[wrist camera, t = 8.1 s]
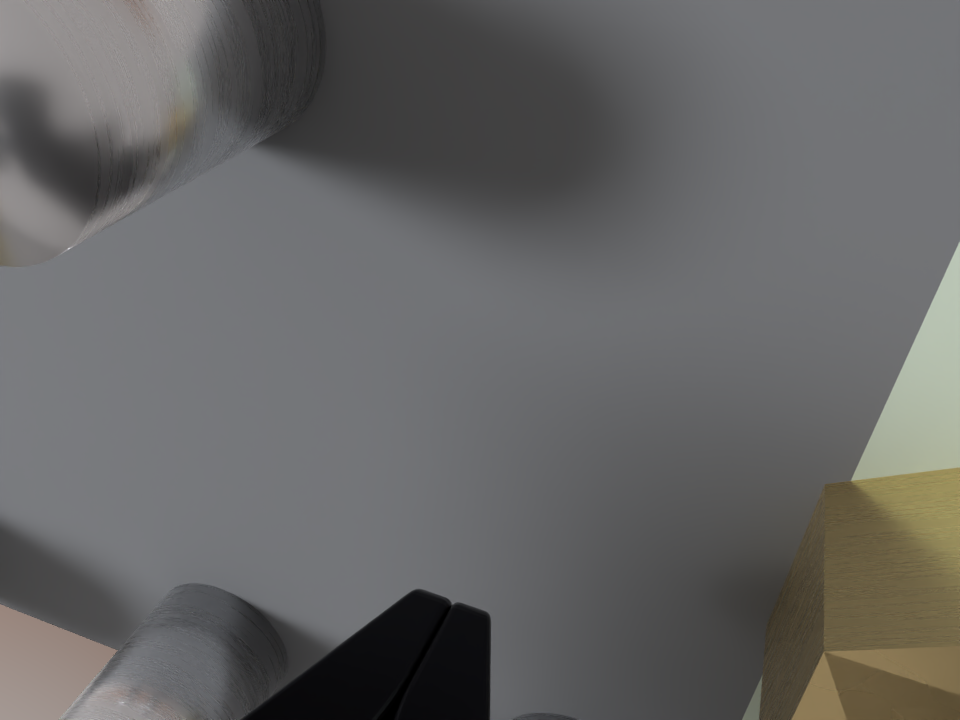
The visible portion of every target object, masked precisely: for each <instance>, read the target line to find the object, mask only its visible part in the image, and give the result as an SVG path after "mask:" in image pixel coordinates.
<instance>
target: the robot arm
mask: <svg viewBox="0 0 960 720" xmlns="http://www.w3.org/2000/svg"><path fill="white" fill-rule="evenodd" d="M490 679H491V617H490V615H489V613H488V612H486V611H484V610H481V609H478V608H475V607H472V606H469V605H467V604H464V603H460V602H457V603H454V604H453V605H452V603H451V601H450V600H449V599H448V598H446V597H443V596H440V595H438V594H435V593H432V592H429V591H426V590H423V589H415V590H412V591H411V592H409V593H408V594H406V595H405V596H404V597H402V598H401V599H400V600H398V601H397V602H396V603H394V604H393V605H392V606H390V607H389V608H388V609H386V610H385V611H384V612H382V613H381V614H380V615H378V616H377V617H376V618H374V619H373V620H372V621H370V622H369V623H368V624H366V625H365V626H364V627H363V628H361V629H360V630H359V631H357V632H356V633H355V634H353V635H352V636H351V637H349V638H348V639H347V640H345V641H344V642H343V643H341V644H340V645H339V646H337V647H336V648H335V649H333V650H332V651H331V652H329V653H328V654H327V655H325V656H324V657H323V658H321V659H320V660H319V661H317V662H316V663H315V664H313V665H312V666H311V667H309V668H308V669H307V670H305V671H304V672H303V673H301V674H300V675H299V676H297V677H296V678H295V679H293V680H292V681H291V682H289V683H288V684H287V685H285V686H284V687H283V688H281V689H280V690H279V691H277V692H276V693H275V694H273V695H272V696H271V697H269V698H268V699H267V700H265V701H264V702H263V703H261V704H260V705H259V706H257V707H256V708H255V709H253V710H252V711H251V712H249V713H248V714H247V715H245V716H244V717H243V718H241V719H240V720H490Z"/></svg>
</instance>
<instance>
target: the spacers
mask: <svg viewBox="0 0 960 720" xmlns="http://www.w3.org/2000/svg"><path fill="white" fill-rule="evenodd" d="M325 50H326V41H325V27H324V20H323V14H322V10H321V6H320V2H319V0H0V266H9V267H24V266H32V265H36V264H40V263H44V262H46V261H48V260H50V259H53V258H55V257H57V256H58V255H60V254H62V253H64V252H66V251H67V250H69V249H71V248H73V247H74V246H76V245H78V244H80V243H82V242H83V241H85V240H87V239H89V238H90V237H92V236H94V235H96V234H98V233H99V232H101V231H103V230H105V229H106V228H108V227H110V226H112V225H114V224H115V223H117V222H119V221H121V220H122V219H124V218H126V217H128V216H130V215H131V214H133V213H135V212H137V211H139V210H140V209H142V208H144V207H146V206H147V205H149V204H151V203H153V202H155V201H156V200H158V199H160V198H162V197H163V196H165V195H167V194H169V193H171V192H172V191H174V190H176V189H178V188H179V187H181V186H183V185H185V184H187V183H188V182H190V181H192V180H194V179H195V178H197V177H199V176H201V175H203V174H204V173H206V172H208V171H210V170H211V169H213V168H215V167H217V166H219V165H220V164H222V163H224V162H226V161H227V160H229V159H231V158H233V157H235V156H236V155H238V154H240V153H242V152H243V151H245V150H247V149H249V148H251V147H252V146H254V145H256V144H258V143H259V142H261V141H263V140H265V139H267V138H268V137H270V136H272V135H274V134H275V133H277V132H279V131H281V130H283V129H284V128H286V127H287V126H289V125H290V124H291V123H293V122H294V121H295V120H296V119H297V118H298V117H299V116H300V115H301V114H302V113H303V112H304V111H305V110H306V108H307V107H308V105H309V104H310V103H311V101H312V99H313V97H314V95H315V93H316V91H317V89H318V86H319V83H320V80H321V77H322V72H323V67H324V62H325ZM287 667H288V657H287V652H286V649H285V646H284V644H283V642H282V640H281V638H280V636H279V634H278V633H277V632H276V630H275V629H274V627H273V626H272V625H271V624H270V622H269V621H268V620H267V619H266V618H265V617H264V616H263V615H262V614H261V613H260V612H258V611H257V610H256V609H255V608H254V607H252V606H251V605H250V604H248V603H247V602H246V601H244V600H242V599H241V598H239V597H237V596H235V595H234V594H232V593H230V592H227V591H225V590H223V589H220V588H217V587H214V586H210V585H205V584H197V583H190V584H183V585H179V586H177V587H175V588H173V589H171V590H170V591H169V592H168V593H167V594H166V595H165V596H164V598H163V599H162V600H161V601H160V602H159V603H158V605H157V606H156V607H155V608H154V609H153V610H152V612H151V613H150V614H149V615H148V616H147V617H146V618H145V620H144V621H143V622H142V623H141V624H140V625H139V627H138V628H137V629H136V630H135V631H134V632H133V634H132V635H131V636H130V637H129V638H128V639H127V641H126V642H125V643H124V644H123V645H122V646H121V648H120V649H119V650H118V651H117V652H116V653H115V655H114V656H113V657H112V658H111V659H110V660H109V662H108V663H107V664H106V665H105V666H104V667H103V669H102V670H101V671H100V672H99V673H98V674H97V676H96V677H95V678H94V679H93V680H92V681H91V683H90V684H89V685H88V686H87V687H86V688H85V690H84V691H83V692H82V693H81V694H80V695H79V697H78V698H77V699H76V700H75V701H74V702H73V703H72V705H71V706H70V707H69V708H68V710H66V712H65V713H64V714H63V715H62V716H61V717H60V719H59V720H240V719H241V718H243V717H244V716H245V715H247V714H248V713H249V712H251V711H252V710H253V709H255V708H256V707H257V706H259V705H260V704H261V703H263V702H264V701H265V700H267V699H268V698H269V697H271V696H272V695H273V693H274V691H275V690H276V688H277V687H278V685H279V684H280V682H281V680H282V679H283V677H284V676H285V674H286V671H287ZM511 720H578V719H575V718H572V717H568V716H564V715H558V714H551V713H532V714H526V715H521V716H518V717H515V718H513V719H511Z"/></svg>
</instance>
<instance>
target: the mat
mask: <svg viewBox="0 0 960 720" xmlns="http://www.w3.org/2000/svg"><path fill="white" fill-rule="evenodd" d="M319 2H320V6H321V10H322V14H323V20H324V27H325V41H326V50H325V62H324V67H323V72H322V77H321V80H320V83H319V86H318V89H317V91H316V93H315V95H314V97H313V99H312V101H311V103H310V104H309V105H308V107H307V108H306V110H305V111H304V112H303V113H302V114H301V115H300V116H299V117H298V118H297V119H296V120H295V121H294V122H293V123H291V124H290V125H289V126H287V127H286V128H284V129H283V130H281V131H279V132H277V133H275V134H274V135H272V136H270V137H268V138H267V139H265V140H263V141H261V142H259V143H258V144H256V145H254V146H252V147H251V148H249V149H247V150H245V151H243V152H242V153H240V154H238V155H236V156H235V157H233V158H231V159H229V160H227V161H226V162H224V163H222V164H220V165H219V166H217V167H215V168H213V169H211V170H210V171H208V172H206V173H204V174H203V175H201V176H199V177H197V178H195V179H194V180H192V181H190V182H188V183H187V184H185V185H183V186H181V187H179V188H178V189H176V190H174V191H172V192H171V193H169V194H167V195H165V196H163V197H162V198H160V199H158V200H156V201H155V202H153V203H151V204H149V205H147V206H146V207H144V208H142V209H140V210H139V211H137V212H135V213H133V214H131V215H130V216H128V217H126V218H124V219H122V220H121V221H119V222H117V223H115V224H114V225H112V226H110V227H108V228H106V229H105V230H103V231H101V232H99V233H98V234H96V235H94V236H92V237H90V238H89V239H87V240H85V241H83V242H82V243H80V244H78V245H76V246H74V247H73V248H71V249H69V250H67V251H66V252H64V253H62V254H60V255H58V256H57V257H55V258H53V259H50V260H48V261H46V262H44V263H40V264H36V265H32V266H24V267H9V266H0V604H1V605H4V606H7V607H9V608H11V609H14V610H17V611H19V612H22V613H24V614H27V615H30V616H32V617H34V618H37V619H40V620H42V621H45V622H47V623H50V624H52V625H55V626H57V627H60V628H63V629H65V630H68V631H70V632H73V633H75V634H78V635H80V636H83V637H86V638H88V639H90V640H93V641H96V642H98V643H101V644H103V645H106V646H108V647H111V648H114V649H116V650H119V649H120V648H121V646H122V645H123V644H124V643H125V642H126V641H127V639H128V638H129V637H130V636H131V635H132V634H133V632H134V631H135V630H136V629H137V628H138V627H139V625H140V624H141V623H142V622H143V621H144V620H145V618H146V617H147V616H148V615H149V614H150V613H151V612H152V610H153V609H154V608H155V607H156V606H157V605H158V603H159V602H160V601H161V600H162V599H163V598H164V596H165V595H166V594H167V593H168V592H169V591H170V590H171V589H173V588H175V587H177V586H179V585H183V584H190V583H197V584H205V585H210V586H214V587H217V588H220V589H223V590H225V591H227V592H230V593H232V594H234V595H235V596H237V597H239V598H241V599H242V600H244V601H246V602H247V603H248V604H250V605H251V606H252V607H254V608H255V609H256V610H257V611H258V612H260V613H261V614H262V615H263V616H264V617H265V618H266V619H267V620H268V621H269V622H270V624H271V625H272V626H273V627H274V629H275V630H276V632H277V633H278V634H279V636H280V638H281V640H282V642H283V644H284V646H285V649H286V652H287V657H288V667H287V671H286V674H285V676H284V677H283V679H282V680H281V682H280V684H279V685H278V687H277V688H276V690H275V691H274V693H273V694H275V693H276V692H277V691H279V690H280V689H281V688H283V687H284V686H285V685H287V684H288V683H289V682H291V681H292V680H293V679H295V678H296V677H297V676H299V675H300V674H301V673H303V672H304V671H305V670H307V669H308V668H309V667H311V666H312V665H313V664H315V663H316V662H317V661H319V660H320V659H321V658H323V657H324V656H325V655H327V654H328V653H329V652H331V651H332V650H333V649H335V648H336V647H337V646H339V645H340V644H341V643H343V642H344V641H345V640H347V639H348V638H349V637H351V636H352V635H353V634H355V633H356V632H357V631H359V630H360V629H361V628H363V627H364V626H365V625H366V624H368V623H369V622H370V621H372V620H373V619H374V618H376V617H377V616H378V615H380V614H381V613H382V612H384V611H385V610H386V609H388V608H389V607H390V606H392V605H393V604H394V603H396V602H397V601H398V600H400V599H401V598H402V597H404V596H405V595H406V594H408V593H409V592H411V591H412V590H415V589H423V590H426V591H429V592H432V593H435V594H438V595H440V596H443V597H446V598H448V599H449V600H450V601H451V603H452V605H453V604H454V603H457V602H460V603H464V604H467V605H469V606H472V607H475V608H478V609H481V610H484V611H486V612H488V613H489V615H490V617H491V679H490V720H511V719H513V718H515V717H518V716H521V715H526V714H532V713H551V714H558V715H564V716H568V717H572V718H575V719H578V720H759V713H760V701H761V688H762V675H763V662H764V650H765V637H766V626H767V623H768V621H769V618H770V616H771V614H772V611H773V609H774V606H775V604H776V601H777V599H778V597H779V594H780V592H781V589H782V587H783V585H784V582H785V580H786V577H787V575H788V572H789V570H790V568H791V565H792V563H793V560H794V558H795V556H796V553H797V551H798V548H799V546H800V543H801V541H802V539H803V536H804V534H805V531H806V529H807V527H808V524H809V522H810V519H811V517H812V514H813V512H814V510H815V507H816V505H817V502H818V500H819V498H820V495H821V493H822V490H823V488H824V485H825V484H830V483H838V482H846V481H854V480H862V479H870V478H878V477H886V476H894V475H902V474H910V473H918V472H926V471H934V470H942V469H950V468H958V467H960V0H319Z"/></svg>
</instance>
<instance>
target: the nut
mask: <svg viewBox="0 0 960 720" xmlns="http://www.w3.org/2000/svg"><path fill="white" fill-rule="evenodd" d="M759 720H960V467H958V468H950V469H942V470H934V471H926V472H918V473H910V474H902V475H894V476H886V477H878V478H870V479H862V480H854V481H846V482H838V483H830V484H825V485H824V488H823V490H822V493H821V495H820V498H819V500H818V502H817V505H816V507H815V510H814V512H813V514H812V517H811V519H810V522H809V524H808V527H807V529H806V531H805V534H804V536H803V539H802V541H801V543H800V546H799V548H798V551H797V553H796V556H795V558H794V560H793V563H792V565H791V568H790V570H789V572H788V575H787V577H786V580H785V582H784V585H783V587H782V589H781V592H780V594H779V597H778V599H777V601H776V604H775V606H774V609H773V611H772V614H771V616H770V618H769V621H768V623H767V626H766V637H765V650H764V662H763V675H762V688H761V701H760V713H759Z"/></svg>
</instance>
